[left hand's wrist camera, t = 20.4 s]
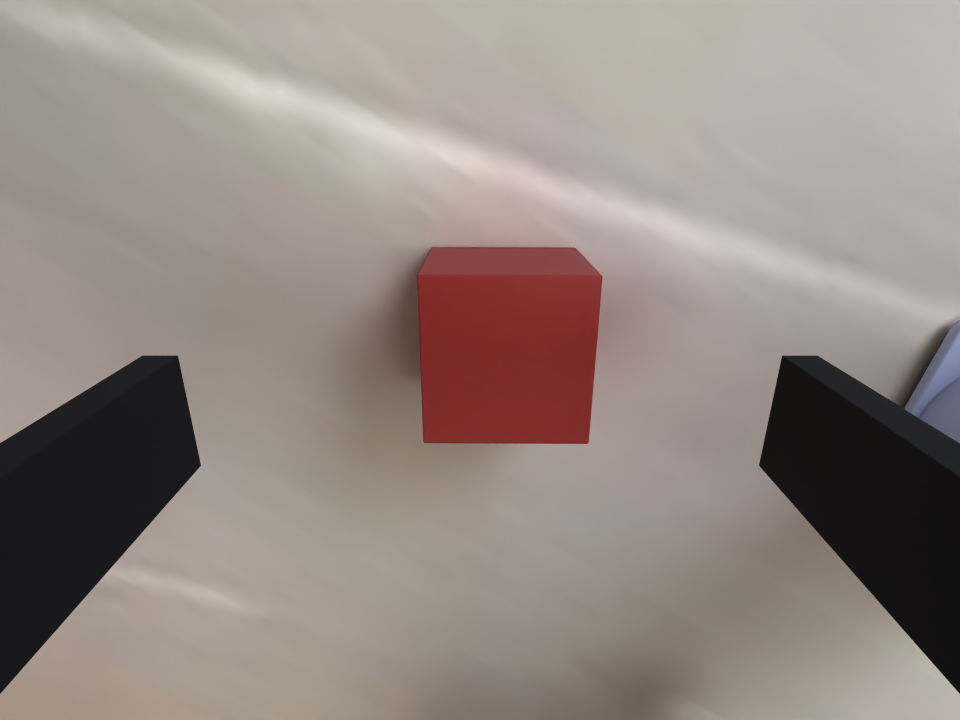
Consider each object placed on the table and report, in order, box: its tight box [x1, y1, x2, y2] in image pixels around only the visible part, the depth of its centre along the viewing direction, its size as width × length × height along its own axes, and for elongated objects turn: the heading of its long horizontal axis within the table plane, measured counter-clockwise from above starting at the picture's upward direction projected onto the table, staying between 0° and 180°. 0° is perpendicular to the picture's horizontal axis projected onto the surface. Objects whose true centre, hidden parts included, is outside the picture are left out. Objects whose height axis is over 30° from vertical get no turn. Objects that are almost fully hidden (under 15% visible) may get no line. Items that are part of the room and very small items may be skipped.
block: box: [417, 247, 602, 444], centre depth 18 cm, size 5×5×4 cm
